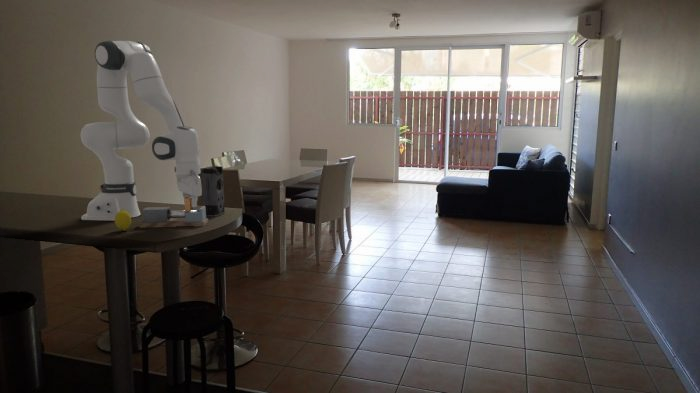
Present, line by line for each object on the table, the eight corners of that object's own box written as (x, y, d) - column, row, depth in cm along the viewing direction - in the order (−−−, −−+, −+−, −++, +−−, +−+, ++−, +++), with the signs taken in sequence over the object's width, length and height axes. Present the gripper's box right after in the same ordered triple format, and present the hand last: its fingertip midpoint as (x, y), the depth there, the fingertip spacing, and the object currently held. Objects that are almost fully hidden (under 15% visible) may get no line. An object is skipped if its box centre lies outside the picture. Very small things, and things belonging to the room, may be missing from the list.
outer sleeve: (143, 222, 204) (142, 209, 203) (147, 219, 208) (146, 207, 208) (167, 222, 204) (166, 209, 203) (170, 219, 209) (170, 206, 208)
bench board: (139, 227, 202) (139, 223, 202) (146, 222, 210) (145, 219, 210) (203, 226, 204) (203, 222, 203) (208, 221, 212) (207, 218, 211)
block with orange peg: (158, 219, 204) (157, 199, 203) (161, 217, 208) (160, 197, 207) (196, 218, 205) (194, 198, 204) (198, 216, 209) (197, 196, 208)
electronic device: (216, 217, 220) (214, 168, 217) (203, 216, 221) (200, 168, 218) (226, 212, 229) (223, 166, 226) (213, 212, 230) (210, 166, 227)
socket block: (185, 222, 204) (184, 209, 203) (189, 218, 210) (188, 206, 209) (202, 221, 204) (202, 209, 204) (206, 218, 210) (205, 206, 209)
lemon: (118, 229, 200) (117, 208, 198) (134, 228, 200) (132, 208, 199) (113, 232, 194) (111, 211, 193) (129, 232, 195) (127, 210, 193)
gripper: (205, 171, 197) (207, 208, 199) (189, 166, 214) (191, 200, 216) (188, 172, 193) (190, 210, 196) (173, 167, 210) (175, 201, 213)
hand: (190, 205), depth 206 cm, fingers open, 8 cm apart
